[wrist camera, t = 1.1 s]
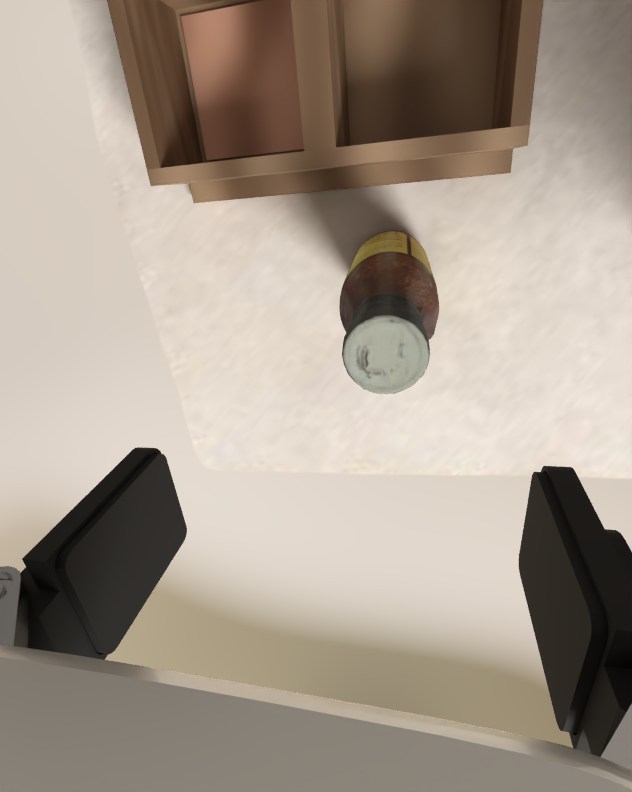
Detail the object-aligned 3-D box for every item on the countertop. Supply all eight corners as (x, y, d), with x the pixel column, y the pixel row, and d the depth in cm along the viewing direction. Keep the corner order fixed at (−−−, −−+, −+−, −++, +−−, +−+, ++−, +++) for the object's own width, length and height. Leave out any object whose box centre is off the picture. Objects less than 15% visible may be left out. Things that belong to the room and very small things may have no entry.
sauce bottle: (342, 283, 39) (285, 376, 21) (376, 214, 36) (339, 258, 18) (408, 316, 39) (403, 435, 22) (446, 251, 36) (476, 328, 18)
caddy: (534, -111, 26) (579, -218, 19) (507, 172, 32) (533, 174, 25) (155, -26, 31) (79, -84, 24) (199, 202, 38) (150, 210, 31)
